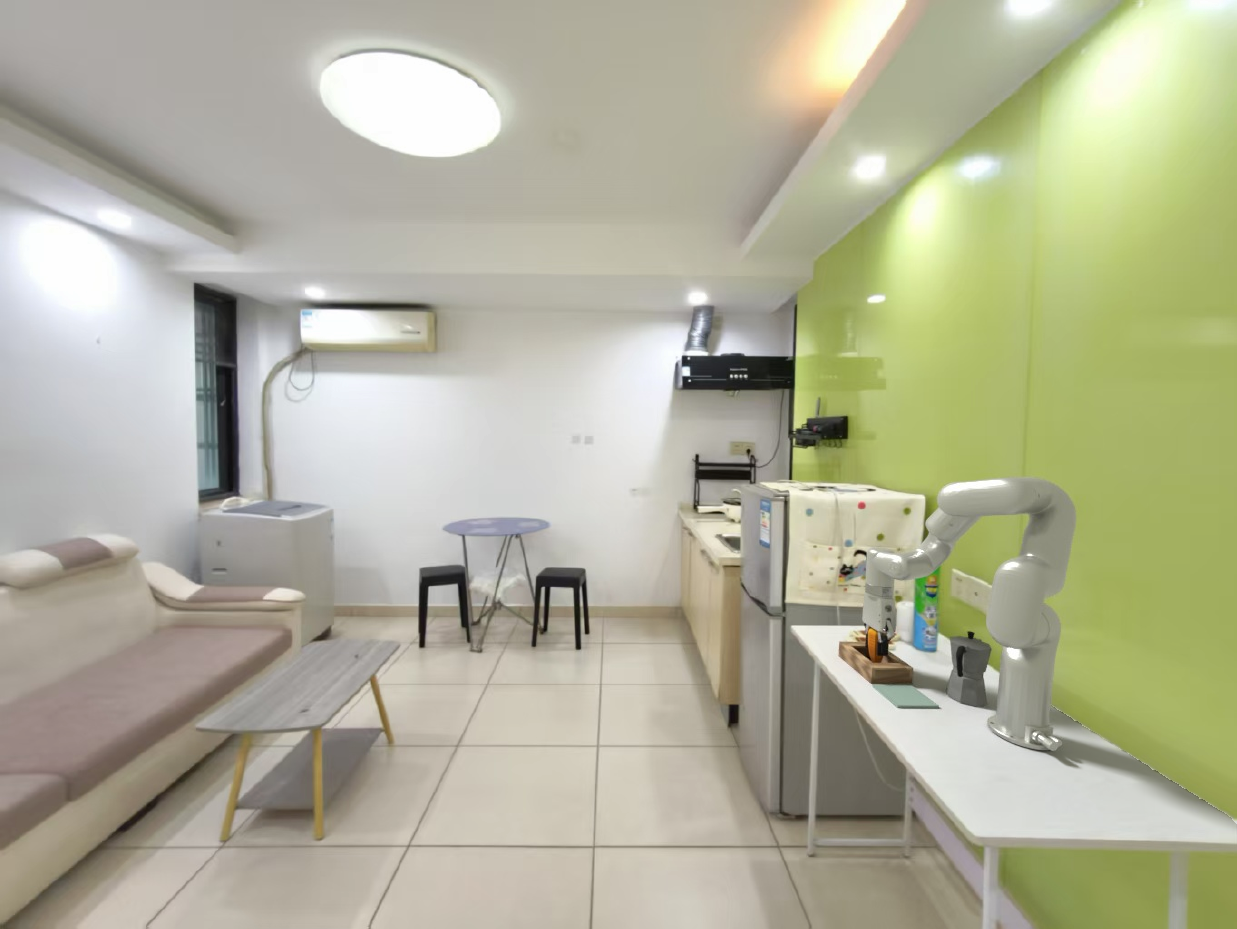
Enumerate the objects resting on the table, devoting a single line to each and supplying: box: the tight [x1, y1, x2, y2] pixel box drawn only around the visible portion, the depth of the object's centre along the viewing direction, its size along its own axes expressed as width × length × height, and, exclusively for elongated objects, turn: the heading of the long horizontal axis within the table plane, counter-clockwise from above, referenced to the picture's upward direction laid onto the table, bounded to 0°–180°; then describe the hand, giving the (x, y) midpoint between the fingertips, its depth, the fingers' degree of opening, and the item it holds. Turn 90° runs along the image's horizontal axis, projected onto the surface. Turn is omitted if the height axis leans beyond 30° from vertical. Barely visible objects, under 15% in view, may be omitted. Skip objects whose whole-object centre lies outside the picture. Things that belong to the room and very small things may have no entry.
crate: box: [837, 641, 914, 685], centre depth 148 cm, size 18×12×5 cm, turn 4°
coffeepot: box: [945, 630, 992, 708], centre depth 132 cm, size 15×9×18 cm, turn 129°
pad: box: [871, 684, 940, 709], centre depth 132 cm, size 11×11×1 cm
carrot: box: [868, 628, 885, 663], centre depth 147 cm, size 5×5×15 cm
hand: (876, 650), depth 148 cm, fingers closed on carrot, 5 cm apart
